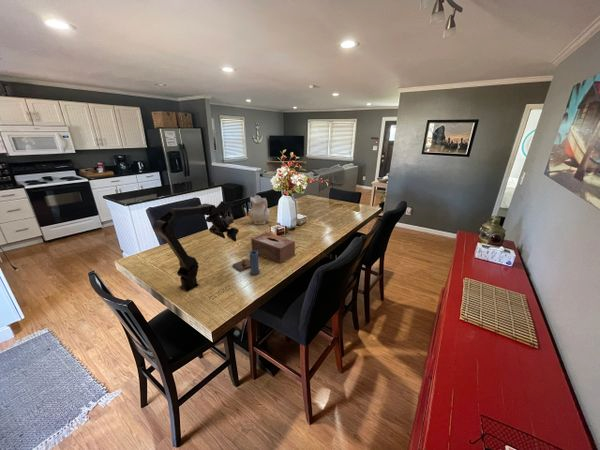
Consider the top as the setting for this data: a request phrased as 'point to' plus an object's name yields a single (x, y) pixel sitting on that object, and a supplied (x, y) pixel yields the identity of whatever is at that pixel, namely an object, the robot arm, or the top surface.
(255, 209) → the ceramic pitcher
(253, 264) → the blue sleeve
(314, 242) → the top surface
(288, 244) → the tissue box cover
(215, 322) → the top surface
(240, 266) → the brown plate with knob
